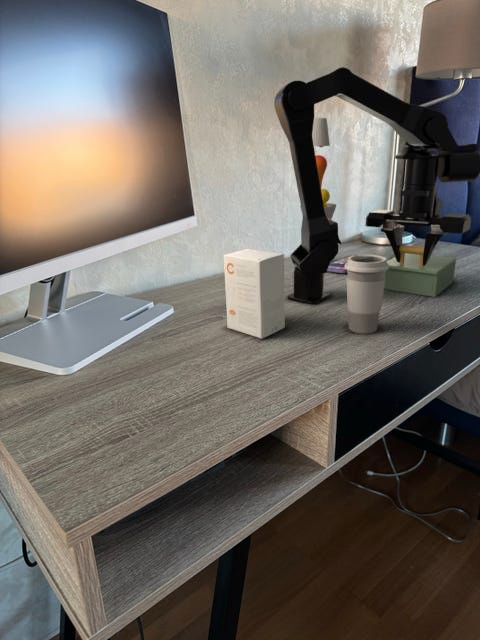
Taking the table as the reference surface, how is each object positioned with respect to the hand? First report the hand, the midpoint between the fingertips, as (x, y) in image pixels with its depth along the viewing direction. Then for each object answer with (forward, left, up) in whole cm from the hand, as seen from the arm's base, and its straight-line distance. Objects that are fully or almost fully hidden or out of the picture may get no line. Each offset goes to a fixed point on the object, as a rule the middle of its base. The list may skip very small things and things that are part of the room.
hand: (411, 263), depth 91 cm
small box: (-34, +14, -6) cm, 37 cm away
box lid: (+4, 0, -1) cm, 5 cm away
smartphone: (+12, +20, -6) cm, 24 cm away
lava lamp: (+11, +28, -6) cm, 31 cm away
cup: (-24, -1, -6) cm, 25 cm away
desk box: (+5, 0, -6) cm, 8 cm away
